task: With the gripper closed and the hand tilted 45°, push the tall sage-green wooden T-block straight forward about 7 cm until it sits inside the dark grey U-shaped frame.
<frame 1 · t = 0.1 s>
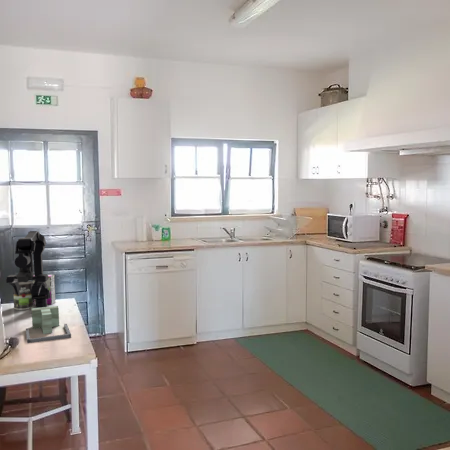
hand: (28, 295, 244), 14 cm above the table, tool pointing down, fingers open, 9 cm apart
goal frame: (47, 334, 231), on the table
coffee can: (24, 307, 278), on the table
candy bar box: (44, 303, 286), on the table
T-block: (45, 326, 243), on the table
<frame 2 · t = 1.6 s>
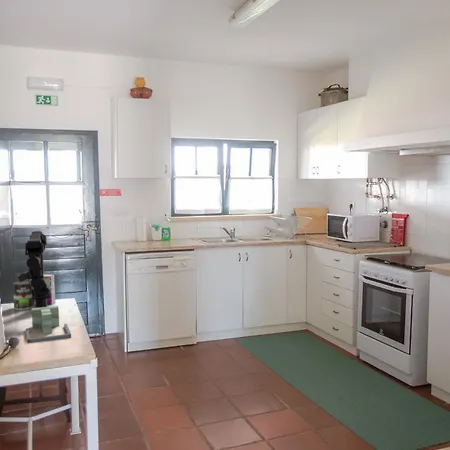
hand: (36, 296, 249), 13 cm above the table, tool pointing down, fingers closed
nothing on the table moved.
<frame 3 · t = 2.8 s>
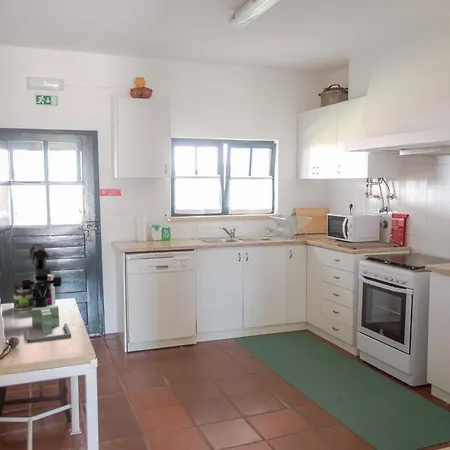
hand: (43, 297, 250), 12 cm above the table, tool tilted 45°, fingers closed
candy bar box: (44, 303, 286), on the table, touching arm
everything else where it was.
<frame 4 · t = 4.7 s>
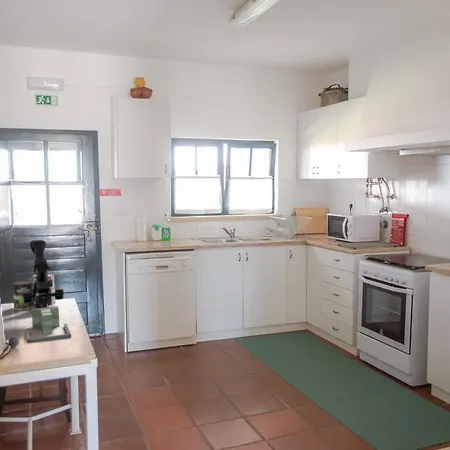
hand: (45, 310, 244), 7 cm above the table, tool tilted 45°, fingers closed, pressing on T-block
candy bar box: (44, 303, 286), on the table
T-block: (45, 326, 242), on the table, touching gripper
everything else where it was.
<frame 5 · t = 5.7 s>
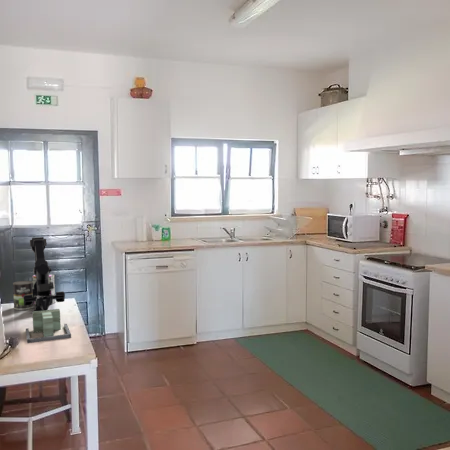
hand: (45, 313, 239), 7 cm above the table, tool tilted 45°, fingers closed, pressing on T-block
T-block: (47, 329, 238), on the table, touching gripper
everything else where it was.
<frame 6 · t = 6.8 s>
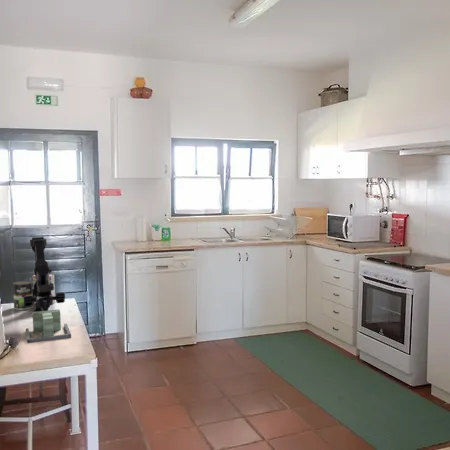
hand: (45, 314, 238), 7 cm above the table, tool tilted 45°, fingers closed
T-block: (47, 330, 237), on the table
everything else where it was.
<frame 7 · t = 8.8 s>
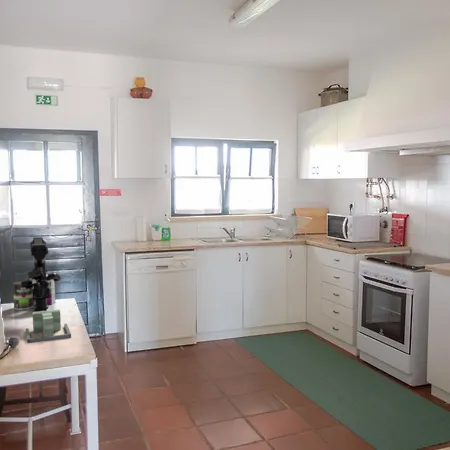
hand: (41, 297, 250), 12 cm above the table, tool tilted 30°, fingers closed
nothing on the table moved.
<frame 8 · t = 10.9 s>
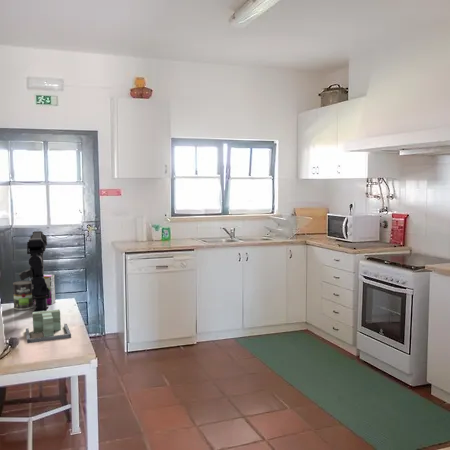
hand: (38, 294, 253), 13 cm above the table, tool pointing down, fingers closed
nothing on the table moved.
at the end: T-block 0.5 cm from the target spot on the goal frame, point 0.0 cm above the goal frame's base; T-block tilted 0°; T-block moved 7.1 cm from its start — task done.
